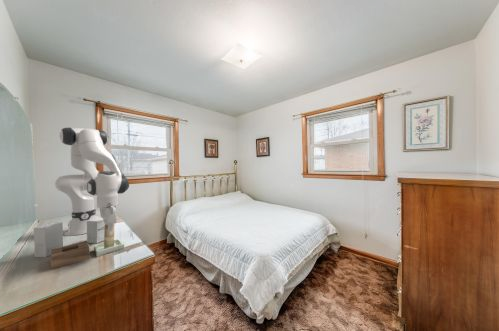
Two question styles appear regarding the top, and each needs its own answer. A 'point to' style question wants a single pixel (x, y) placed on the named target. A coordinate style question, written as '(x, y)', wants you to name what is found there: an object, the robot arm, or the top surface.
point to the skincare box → (48, 238)
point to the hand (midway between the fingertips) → (108, 229)
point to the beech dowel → (108, 237)
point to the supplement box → (95, 230)
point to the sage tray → (101, 251)
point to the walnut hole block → (69, 254)
